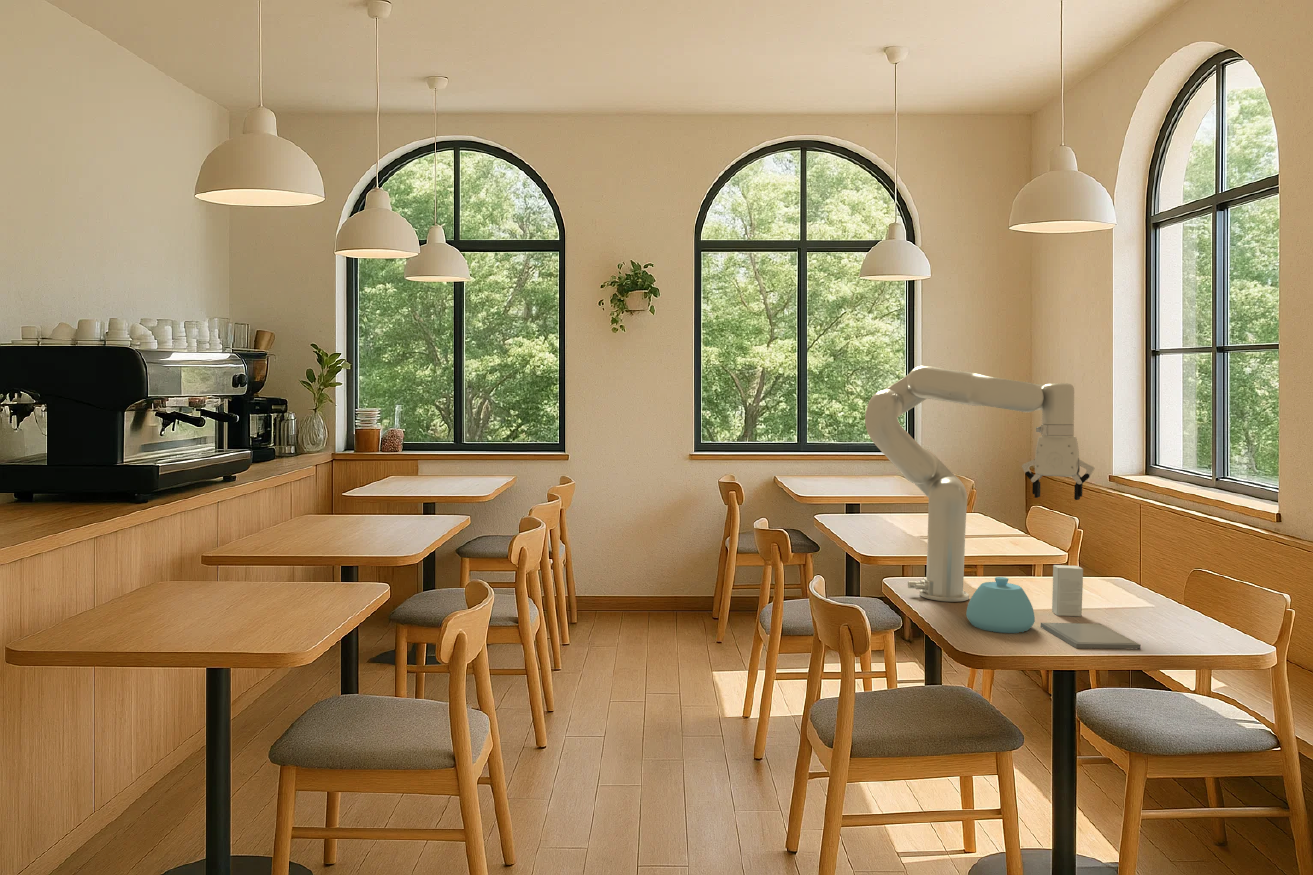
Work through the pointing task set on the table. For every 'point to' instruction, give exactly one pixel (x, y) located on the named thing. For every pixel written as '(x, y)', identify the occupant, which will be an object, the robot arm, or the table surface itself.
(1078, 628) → the slate board
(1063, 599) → the skincare box
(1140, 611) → the table surface
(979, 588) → the sugar bowl
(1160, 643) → the table surface
